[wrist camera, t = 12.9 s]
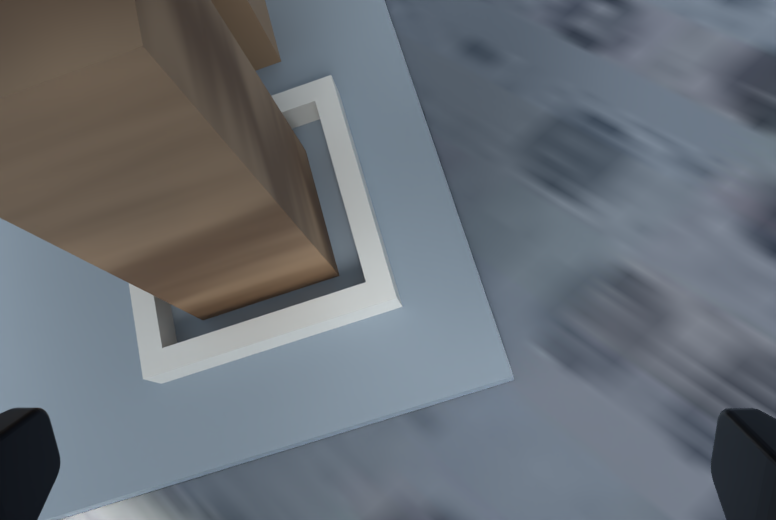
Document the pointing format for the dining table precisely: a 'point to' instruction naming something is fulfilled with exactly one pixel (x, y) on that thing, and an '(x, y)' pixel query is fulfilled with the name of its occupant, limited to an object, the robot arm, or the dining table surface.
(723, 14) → the dining table surface
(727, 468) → the robot arm
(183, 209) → the walnut pillar
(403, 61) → the baseplate
